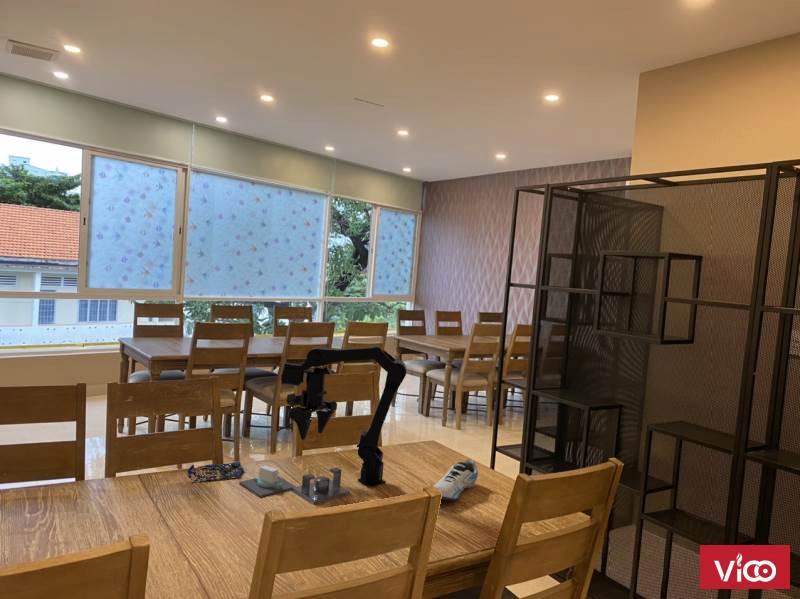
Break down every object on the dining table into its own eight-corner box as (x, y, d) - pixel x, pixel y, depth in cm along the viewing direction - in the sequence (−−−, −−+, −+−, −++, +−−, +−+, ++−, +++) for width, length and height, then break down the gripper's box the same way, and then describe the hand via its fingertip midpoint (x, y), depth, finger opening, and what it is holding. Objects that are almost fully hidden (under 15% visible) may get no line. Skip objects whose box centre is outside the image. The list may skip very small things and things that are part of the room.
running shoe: (421, 503, 165) (424, 472, 164) (455, 478, 187) (457, 451, 186) (449, 511, 161) (452, 480, 160) (481, 485, 182) (483, 458, 182)
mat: (274, 475, 176) (274, 473, 176) (295, 488, 168) (295, 486, 168) (239, 483, 168) (239, 481, 168) (259, 497, 160) (259, 495, 159)
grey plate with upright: (327, 481, 175) (329, 462, 174) (349, 494, 167) (351, 474, 167) (291, 491, 166) (293, 471, 165) (313, 504, 158) (315, 483, 158)
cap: (286, 485, 168) (288, 469, 168) (273, 491, 163) (274, 475, 163) (262, 477, 173) (263, 462, 173) (248, 483, 168) (249, 467, 167)
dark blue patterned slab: (190, 485, 166) (190, 480, 166) (185, 469, 177) (186, 464, 177) (247, 480, 173) (247, 475, 173) (239, 464, 184) (239, 459, 184)
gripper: (311, 379, 188) (307, 425, 189) (275, 387, 171) (272, 438, 172) (339, 384, 183) (336, 431, 184) (305, 393, 166) (301, 445, 167)
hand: (311, 436), depth 177 cm, fingers open, 9 cm apart
